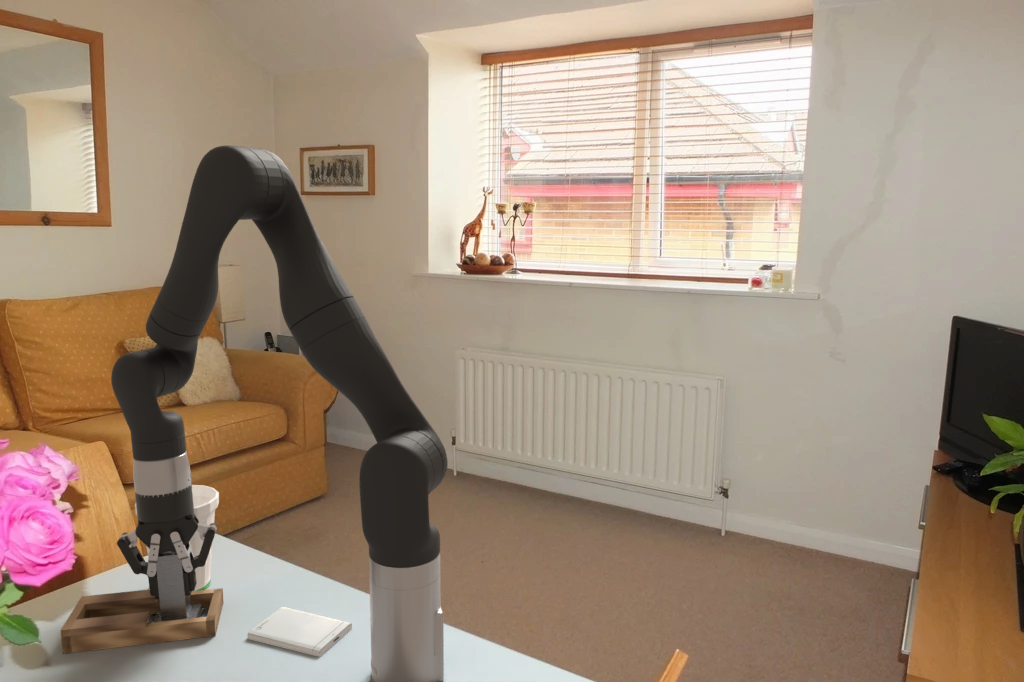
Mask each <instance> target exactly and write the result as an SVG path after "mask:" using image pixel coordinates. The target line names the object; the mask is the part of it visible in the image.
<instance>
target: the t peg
mask: <svg viewBox="0 0 1024 682" xmlns="http://www.w3.org/2000/svg"><path fill="white" fill-rule="evenodd" d="M156 570H157V580H158V590H159V600H160V610H159V611H158V613H157V614H155V617H154V620H153V621H152V623H154V622H163V621H172V620H181V619H190V618H199V617H202V616H201V615H202V613H203V609H202V603H198V604H191V595H188V596H186V595H185V586H184V576H183V573H184V571H185V570H184V568H183V565H182V560H180V559H179V557H178V554H177V552H170V551H168V552H165V553H162V554H159V556H158V562H157V563H156Z"/></svg>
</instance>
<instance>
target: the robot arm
mask: <svg viewBox="0 0 1024 682" xmlns="http://www.w3.org/2000/svg"><path fill="white" fill-rule="evenodd" d="M189 191H190V192H189V196H188V200H187V203H186V207H185V208H186V209H185V212H184V216H183V220H182V223H181V228H180V232H179V235H178V238H177V243H176V247H175V251H174V255H173V258H172V262H171V264H170V267H169V269H168V272H167V274H166V277H165V279H164V282H163V283H162V284H163V285H162V286H161V288H160V291H159V292H158V295H157V297H156V300H155V302H154V304H153V306H152V308H151V310H150V312H149V315H148V317H147V319H146V323H145V332H146V334H147V336H148V337H149V339H150V340H151V341H152V342H153V343H155V344H156V345H155V346H154V347H150V348H145V349H140V350H136V351H130V352H127V353H125V354H123V355H120V356H119V357H118V358H117V360H116V361H115V363H114V365H113V367H112V370H111V378H110V379H111V387H112V388H111V389H112V390H113V393H114V396H115V399H116V400H117V403H118V406H119V407H120V410H121V412H122V415H123V417H124V419H125V422H126V424H127V426H128V429H129V431H130V440H131V450H132V459H133V460H132V461H133V465H132V477H133V486H134V487H133V488H134V495H135V504H136V507H137V515H136V516H137V526H136V527H135V529H134V530H133V531H131V532H122V534H121V535H120V537H119V538H118V539H117V541H116V545H117V546H118V549H119V550H120V552H121V553H122V555H123V557H124V558H125V560H126V562H127V565H128V566H129V567H130V569H131V571H132V572H133V574H135V575H140V574H141V575H142V574H143V575H146V576H147V578H148V588H149V589H148V590H150V594H151V596H155V600H157V599H159V590H158V580H157V570H156V563H157V562H158V556H159V554H162V553H165V552H168V551H170V552H177V554H178V557H179V559H180V560H182V565H183V568H184V570H185V571H184V573H183V576H184V586H185V595H186V596H188V595H191V593H192V591H194V589H195V587H196V584H197V582H196V572H195V569H196V568H197V567H203V566H204V565H205V563H206V560H207V557H208V554H209V551H210V548H211V545H212V542H213V543H214V538H215V537H216V536H215V535H216V532H217V530H218V524H216V523H215V522H214V523H211V524H210V525H207V524H203V523H199V520H198V519H197V518H196V516H195V514H194V505H193V494H192V485H193V484H192V478H193V477H192V471H191V466H190V460H189V457H188V453H187V451H188V450H187V442H186V431H185V430H186V429H185V424H184V420H183V417H182V415H180V413H178V412H175V411H172V410H171V411H170V410H162V409H161V406H160V405H159V402H158V398H160V397H163V396H167V395H170V394H173V393H176V392H178V391H180V390H182V389H183V388H184V387H185V385H187V383H188V382H189V381H190V379H191V378H192V375H193V372H194V371H195V370H194V369H195V364H196V359H197V353H198V342H199V338H200V336H201V334H202V332H203V331H204V328H205V326H206V325H207V322H208V320H209V318H210V316H211V314H212V312H213V310H214V307H215V305H216V302H217V299H218V293H219V260H220V254H221V252H222V248H223V245H224V243H225V242H226V239H227V238H228V236H229V235H230V233H231V232H232V230H233V228H234V227H235V226H236V224H237V223H238V222H239V221H240V220H241V221H242V220H251V221H252V222H253V223H254V224H255V226H256V227H257V228H258V230H259V232H260V234H261V235H262V237H263V239H264V240H265V242H266V244H267V246H268V247H269V249H270V252H271V253H272V255H273V257H274V261H275V264H276V269H277V276H278V292H279V293H278V294H279V301H280V302H279V303H280V308H281V309H280V310H281V313H282V316H283V319H284V321H285V324H286V326H287V328H288V330H289V331H290V333H291V335H292V337H293V339H294V341H295V343H296V344H297V346H298V347H299V350H300V351H301V353H302V355H303V357H304V358H305V359H306V361H307V362H308V364H309V365H310V366H311V367H312V368H313V369H314V371H315V372H316V373H317V374H319V376H320V377H321V378H323V379H324V380H325V381H326V382H327V383H329V385H331V386H332V387H333V388H335V389H336V390H337V391H338V392H339V393H340V394H342V395H343V396H344V397H345V398H346V399H348V400H349V402H350V403H352V404H353V406H354V407H355V408H356V409H357V410H358V411H359V413H360V414H361V416H362V417H363V419H364V420H365V422H366V424H367V426H368V428H369V430H370V431H371V433H372V435H373V437H374V439H375V441H376V443H375V444H374V445H372V446H371V447H369V449H367V451H366V452H365V454H364V455H363V458H362V461H361V464H360V468H359V483H358V484H359V501H360V514H361V515H360V516H361V528H362V533H363V536H364V539H365V541H366V543H367V545H368V567H369V568H368V569H369V607H370V608H369V612H370V619H369V620H370V652H371V653H370V668H371V679H372V682H443V681H444V677H445V676H444V675H445V674H444V673H445V672H444V670H445V668H444V667H445V666H444V665H445V663H444V661H445V659H444V655H445V654H444V653H445V652H444V651H445V649H444V647H445V645H444V639H445V638H444V613H443V608H442V606H441V605H442V604H441V534H440V532H439V531H440V530H439V529H438V528H437V527H436V526H435V525H434V524H432V523H430V506H429V495H430V493H433V491H435V490H436V488H437V487H438V486H439V485H440V484H441V483H442V482H443V481H444V478H445V477H446V474H447V472H448V467H449V466H448V455H447V451H446V448H445V447H444V444H443V442H442V441H441V439H440V437H439V436H438V434H437V432H436V430H434V428H433V427H432V425H431V423H430V422H429V421H428V419H427V418H426V417H425V415H424V414H423V413H422V411H421V409H420V408H419V407H418V405H417V404H416V402H415V401H414V400H413V399H412V397H411V396H410V394H409V392H408V390H406V388H405V386H404V385H403V383H402V382H401V380H400V378H399V376H398V375H397V373H396V371H395V369H394V367H393V365H392V364H391V362H390V359H389V358H388V357H387V355H386V353H385V351H384V350H383V349H384V348H382V346H381V344H380V343H379V340H378V339H377V337H376V335H375V334H374V332H373V330H372V328H371V326H370V324H369V322H368V320H367V318H366V316H365V314H364V313H363V310H362V308H361V307H360V305H359V304H358V302H357V300H356V299H355V297H354V295H353V293H352V292H351V291H350V289H349V287H348V286H347V284H346V282H345V281H344V279H343V277H342V275H341V274H340V272H339V269H338V268H337V266H336V263H335V262H334V260H333V259H332V257H331V255H330V253H329V251H328V249H327V247H326V246H325V244H324V243H323V241H322V239H321V237H320V235H319V233H318V232H317V229H316V228H315V225H314V222H313V220H312V218H311V216H310V214H309V212H308V208H307V206H306V205H305V203H304V200H303V197H302V195H301V193H300V190H299V188H298V186H297V184H296V181H295V180H294V177H293V175H292V173H291V171H290V170H289V168H288V166H287V165H286V163H284V161H283V160H282V158H280V157H279V156H278V155H277V154H275V153H273V152H271V151H270V150H268V149H264V148H259V147H250V146H249V147H248V146H239V145H227V144H226V145H218V146H215V147H213V148H212V149H210V150H209V151H207V153H206V154H204V156H202V158H201V159H200V162H199V164H198V166H197V168H196V171H195V173H194V177H193V180H192V184H191V188H190V190H189ZM196 531H198V532H199V533H200V539H202V540H204V542H203V545H202V548H201V551H200V554H199V555H198V556H196V557H194V555H193V552H192V547H191V544H190V539H191V538H192V536H193V535H194V533H195V532H196ZM138 539H139V540H140V541H141V542H142V543H143V544H144V545H145V547H146V546H147V547H148V548H149V549H150V552H149V558H148V559H147V561H146V560H145V558H144V556H143V555H142V553H141V552H140V550H139V548H138V546H137V544H138V543H139V542H138V541H139V540H138Z"/></svg>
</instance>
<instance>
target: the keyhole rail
mask: <svg viewBox="0 0 1024 682" xmlns="http://www.w3.org/2000/svg"><path fill="white" fill-rule="evenodd" d="M198 603H202V610H203V609H204V610H205V609H208V610H207V611H208V612H207V615H206V616H200V617H199V618H190V619H181V620H172V621H163V622H154V623H153V622H149V621H150V617H151V616H150V615H157V613H158V611H159V610H160V600H159V599H157V600H155V596H151V594H150V589H141V590H131V591H123V592H122V591H121V592H113V593H111V592H110V593H102V594H92V595H82V596H81V597H80V598H79V600H78V602H77V603H76V605H75V606H74V608H73V609H72V611H71V613H70V614H69V616H68V618H67V619H66V621H65V622H64V623H63V625H62V627H61V628H60V640H61V652H62V654H70V653H80V652H88V651H96V650H103V649H105V650H106V649H113V648H114V649H115V648H122V647H129V646H130V647H131V646H132V647H133V646H138V645H147V644H155V643H164V642H173V641H175V642H176V641H182V640H191V639H198V638H200V639H201V638H207V637H208V638H209V637H215V636H216V635H217V631H218V627H219V624H220V623H219V622H220V619H221V614H222V611H223V606H224V604H225V603H224V588H222V587H220V588H210V589H205V590H199V591H192V593H191V604H198Z"/></svg>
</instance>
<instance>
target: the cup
mask: <svg viewBox="0 0 1024 682" xmlns="http://www.w3.org/2000/svg"><path fill="white" fill-rule="evenodd" d="M192 494H193V505H194V514H195V516H196V518H197V519H198V520H199V523H203V524H207V525H210V524H211V523H215V516H216V514H215V513H216V509H217V508H218V507H219V503H220V492H219V491H218V490H217V489H215V488H214V487H212V486H207V485H203V484H200V485H199V484H192ZM134 511H135V512H134V513H135V515H136V516H137V507H136V503H134ZM203 542H204V540H202V539H200V533H199V532H198V531H196V532H195V533H194V535H193V536H192V538H191V539H190V544H191V547H192V552H193V555H194V557H196V556H198V555H199V554H200V551H201V548H202V545H203ZM213 545H214V541H213V542H212V545H211V548H210V551H209V554H208V557H207V560H206V563H205V565H204V566H203V567H197V568H196V569H195V572H196V582H197V584H196V587H195V589H194V591H199V590H207V588H208V587H209V586H210V584H211V575H212V561H213V547H214V546H213ZM145 547H146V552H147V556H148V558H149V552H150V549H149V548H148V547H147V546H146V545H145Z"/></svg>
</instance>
